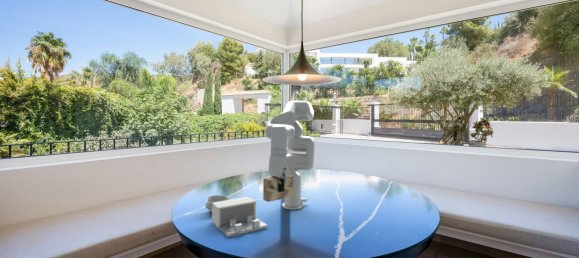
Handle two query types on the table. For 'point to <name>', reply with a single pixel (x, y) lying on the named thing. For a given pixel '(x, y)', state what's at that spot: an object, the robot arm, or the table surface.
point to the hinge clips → (241, 226)
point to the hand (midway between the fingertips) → (278, 190)
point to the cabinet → (232, 210)
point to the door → (272, 189)
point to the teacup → (214, 200)
